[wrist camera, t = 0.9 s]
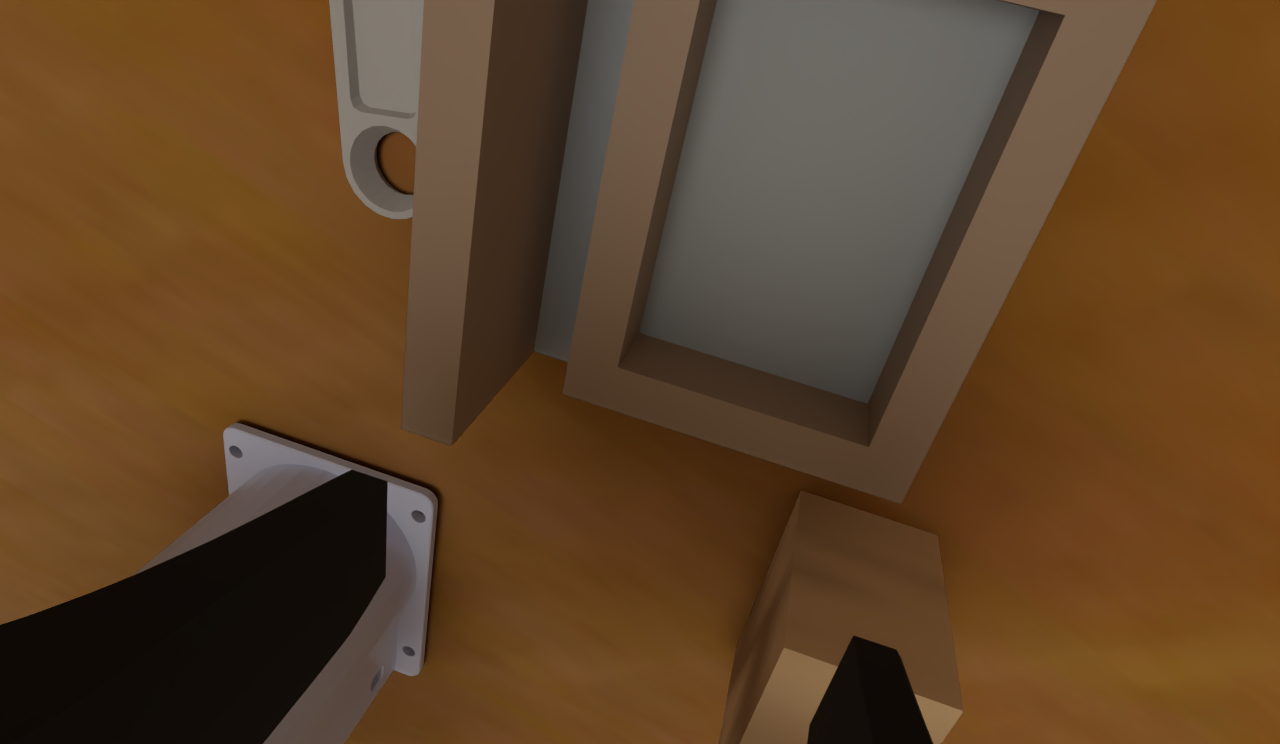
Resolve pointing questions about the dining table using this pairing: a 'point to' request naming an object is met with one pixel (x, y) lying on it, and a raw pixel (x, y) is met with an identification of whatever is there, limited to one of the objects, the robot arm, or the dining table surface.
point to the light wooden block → (841, 621)
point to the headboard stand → (741, 208)
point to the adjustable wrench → (376, 90)
